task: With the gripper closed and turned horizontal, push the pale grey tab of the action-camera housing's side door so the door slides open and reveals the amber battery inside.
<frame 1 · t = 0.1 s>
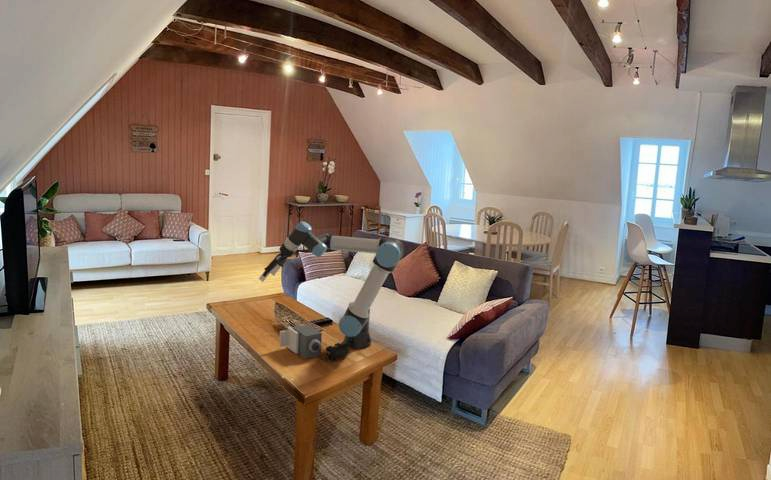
hand: (266, 277, 258), 36 cm above the table, tool tilted 35°, fingers open, 13 cm apart
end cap: (337, 358, 248), on the table
camera housing: (306, 352, 253), on the table
side door: (288, 340, 252), point 6 cm above the table, slide at 0.0 cm
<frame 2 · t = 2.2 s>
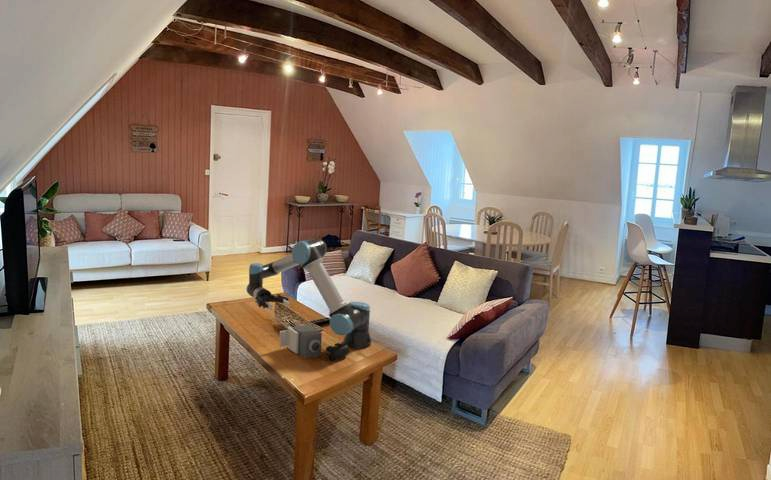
hand: (280, 306, 255), 22 cm above the table, tool horizontal, fingers open, 9 cm apart
nothing on the table moved.
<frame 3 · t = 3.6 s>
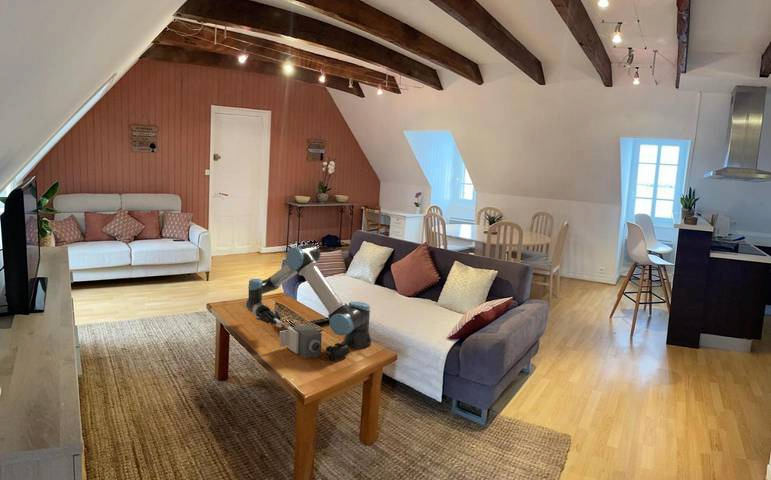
hand: (280, 324, 256), 12 cm above the table, tool horizontal, fingers closed
nothing on the table moved.
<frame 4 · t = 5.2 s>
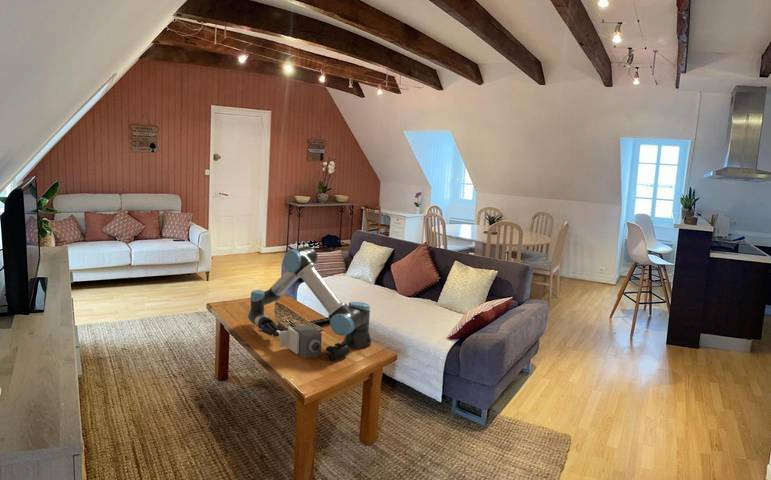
hand: (282, 336, 254), 7 cm above the table, tool horizontal, fingers closed
side door: (289, 341, 251), point 6 cm above the table, slide at 0.6 cm, touching gripper
everything else where it was.
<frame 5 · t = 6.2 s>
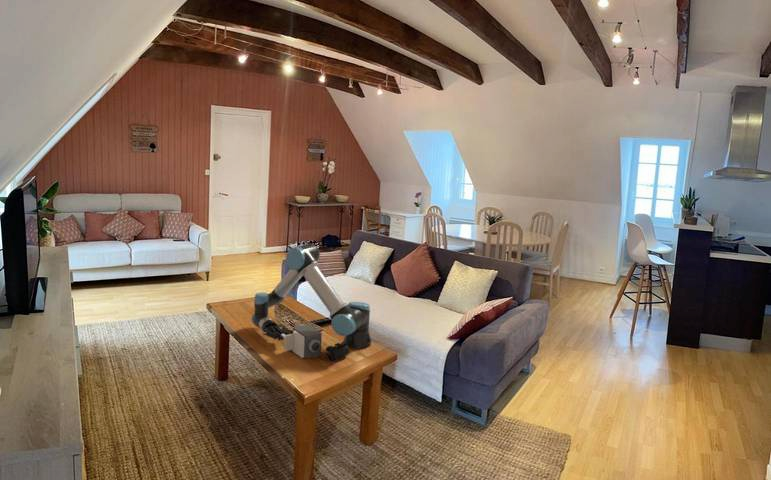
hand: (287, 340, 250), 7 cm above the table, tool horizontal, fingers closed
side door: (294, 345, 247), point 6 cm above the table, slide at 6.3 cm, touching gripper
everything else where it was.
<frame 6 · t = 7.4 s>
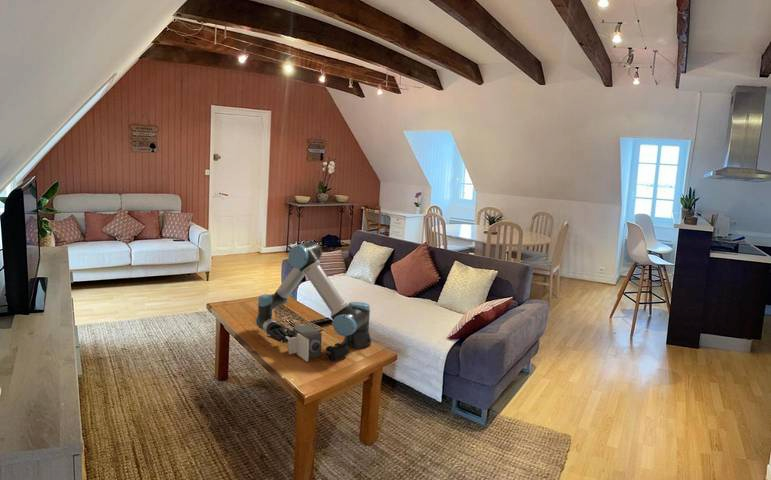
hand: (292, 343, 247), 7 cm above the table, tool horizontal, fingers closed
side door: (298, 348, 243), point 6 cm above the table, slide at 10.8 cm, touching gripper
everything else where it was.
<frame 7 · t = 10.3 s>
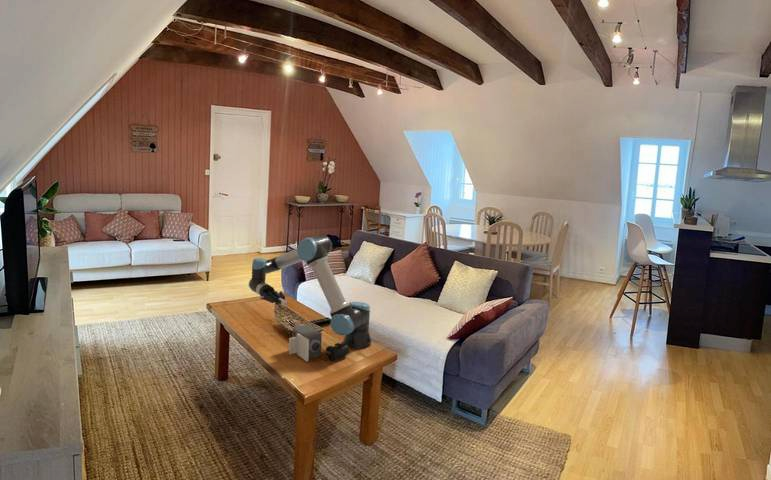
hand: (285, 304, 251), 24 cm above the table, tool horizontal, fingers closed
side door: (298, 348, 243), point 6 cm above the table, slide at 10.8 cm
everything else where it was.
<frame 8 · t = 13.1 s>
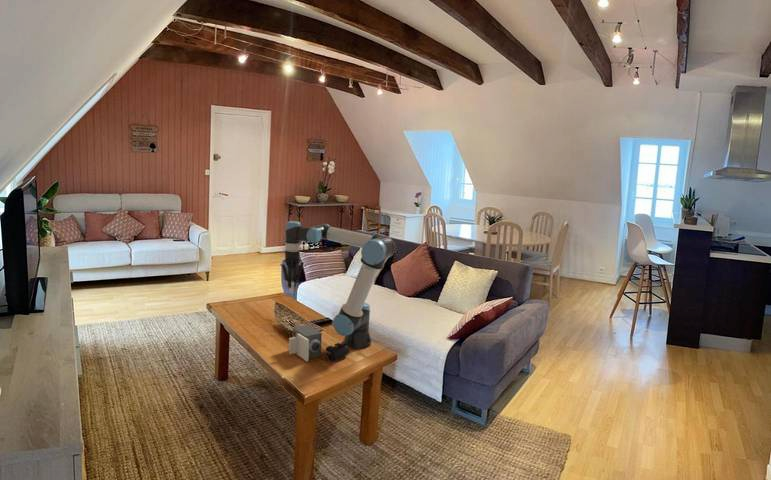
hand: (291, 293, 265), 26 cm above the table, tool pointing down, fingers closed
nothing on the table moved.
at the end: side door slide at 10.8 cm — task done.
